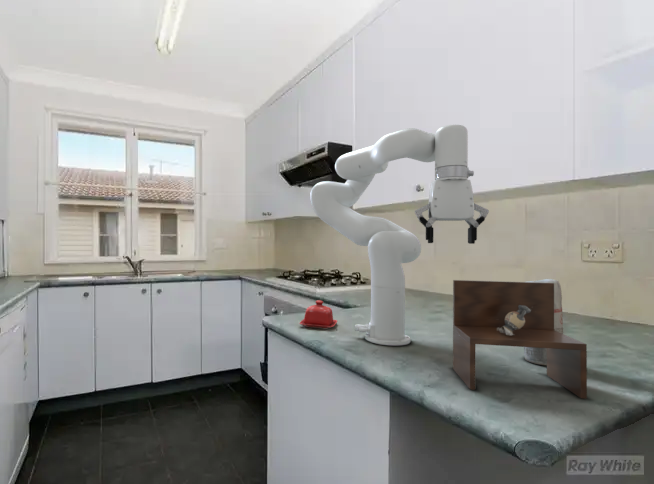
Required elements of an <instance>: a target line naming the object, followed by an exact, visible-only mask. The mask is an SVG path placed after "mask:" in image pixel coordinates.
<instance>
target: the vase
mask: <svg viewBox="0 0 654 484" xmlns="http://www.w3.org/2000/svg"><path fill="white" fill-rule="evenodd" d="M518 308H519V309H518V311H516V312H515V311H514V312H509V313H508V314H507V315H506V317H505V326H502V327H501V328H497V331H498V330H499V331H500V333H506V335H511V336H512V335H514V334H513V330H518V329H520V328H522V327H523V326H524V324H525V318H524V315H525V314H526V313H530V312H531V310H530V309H529V308H528V307H526V306H524V305H518ZM514 332H515V331H514Z"/></svg>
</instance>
